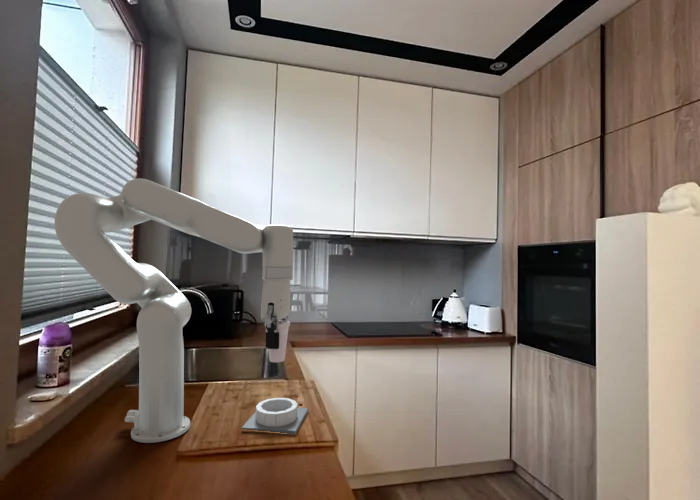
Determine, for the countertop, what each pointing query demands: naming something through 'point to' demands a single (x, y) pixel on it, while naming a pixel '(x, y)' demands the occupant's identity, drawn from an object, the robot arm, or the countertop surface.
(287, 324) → the smoothie
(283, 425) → the holder
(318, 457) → the countertop surface
